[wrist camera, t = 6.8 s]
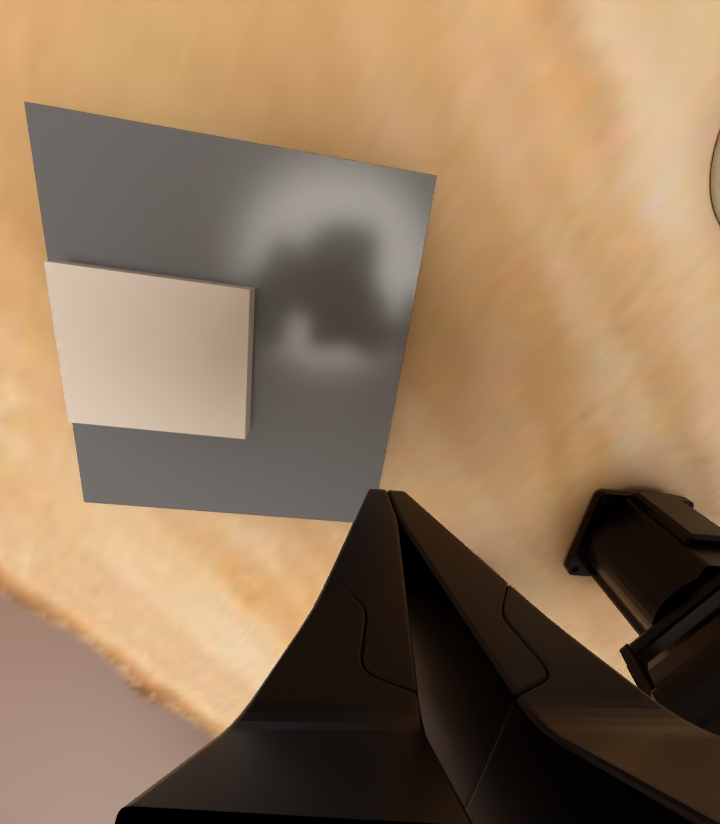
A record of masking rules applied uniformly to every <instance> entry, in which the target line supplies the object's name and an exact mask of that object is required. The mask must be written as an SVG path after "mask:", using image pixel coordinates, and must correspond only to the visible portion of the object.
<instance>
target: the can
mask: <svg viewBox="0 0 720 824" xmlns="http://www.w3.org/2000/svg"><path fill="white" fill-rule="evenodd" d="M711 195H712V201H713V206H714V210H715V213H716V216H717V218H718V221H719V222H720V134H719V138H718V141H717V145H716V148H715V152H714V157H713V162H712V170H711Z"/></svg>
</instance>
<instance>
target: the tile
mask: <svg viewBox="0 0 720 824" xmlns="http://www.w3.org/2000/svg"><path fill="white" fill-rule="evenodd" d="M44 267H45V274H46V280H47V287H48V293H49V300H50V306H51V313H52V319H53V326H54V332H55V339H56V345H57V352H58V358H59V365H60V371H61V378H62V384H63V391H64V397H65V404H66V410H67V417H68V422H71V423H82V424H92V425H102V426H113V427H123V428H133V429H144V430H154V431H164V432H175V433H185V434H195V435H206V436H216V437H226V438H237V439H245V438H246V436H247V434H248V432H249V430H250V415H251V388H252V361H253V334H254V307H255V287H248V286H240V285H233V284H226V283H219V282H212V281H205V280H197V279H190V278H183V277H176V276H169V275H161V274H154V273H147V272H140V271H133V270H126V269H118V268H111V267H104V266H97V265H90V264H82V263H75V262H68V261H44Z"/></svg>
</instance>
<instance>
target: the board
mask: <svg viewBox="0 0 720 824" xmlns="http://www.w3.org/2000/svg"><path fill="white" fill-rule="evenodd" d="M24 103H25V110H26V116H27V123H28V130H29V136H30V143H31V150H32V156H33V163H34V170H35V177H36V183H37V190H38V197H39V203H40V210H41V217H42V223H43V230H44V237H45V243H46V250H47V257H48V261H68V262H75V263H82V264H90V265H97V266H104V267H111V268H118V269H126V270H133V271H140V272H147V273H154V274H161V275H169V276H176V277H183V278H190V279H197V280H205V281H212V282H219V283H226V284H233V285H240V286H248V287H255V307H254V334H253V361H252V388H251V415H250V430H249V432H248V434H247V436H246V438H245V439H237V438H226V437H216V436H206V435H195V434H185V433H175V432H164V431H154V430H144V429H133V428H123V427H113V426H102V425H92V424H82V423H72V424H73V430H74V437H75V444H76V450H77V457H78V464H79V470H80V477H81V484H82V490H83V497H84V502H90V503H103V504H117V505H130V506H143V507H156V508H169V509H183V510H196V511H209V512H222V513H235V514H248V515H262V516H275V517H288V518H301V519H314V520H328V521H341V522H354V520H355V518H356V516H357V514H358V512H359V509H360V507H361V505H362V503H363V501H364V499H365V496H366V494H367V492H368V490H369V489H379V485H380V479H381V474H382V468H383V463H384V458H385V452H386V447H387V441H388V436H389V431H390V425H391V420H392V414H393V409H394V404H395V398H396V393H397V388H398V382H399V377H400V371H401V366H402V361H403V355H404V350H405V344H406V339H407V334H408V328H409V323H410V317H411V312H412V307H413V301H414V296H415V290H416V285H417V280H418V274H419V269H420V264H421V258H422V253H423V247H424V242H425V237H426V231H427V226H428V220H429V215H430V210H431V204H432V199H433V193H434V188H435V183H436V177H437V176H436V175H431V174H425V173H419V172H414V171H408V170H403V169H397V168H392V167H386V166H380V165H375V164H369V163H364V162H358V161H353V160H347V159H341V158H336V157H330V156H325V155H319V154H314V153H308V152H302V151H297V150H291V149H286V148H280V147H275V146H269V145H263V144H258V143H252V142H247V141H241V140H236V139H230V138H224V137H219V136H213V135H208V134H202V133H197V132H191V131H186V130H180V129H174V128H169V127H163V126H158V125H152V124H147V123H141V122H135V121H130V120H124V119H119V118H113V117H108V116H102V115H96V114H91V113H85V112H80V111H74V110H69V109H63V108H57V107H52V106H46V105H41V104H35V103H30V102H24Z"/></svg>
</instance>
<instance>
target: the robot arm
mask: <svg viewBox="0 0 720 824" xmlns="http://www.w3.org/2000/svg"><path fill="white" fill-rule="evenodd" d="M604 498H605V499H604ZM693 507H694V504H693V502H691V501H690V500H688V499H687V498H684V497H676V496H674V495H672V494H661V493H651V492H640V491H638V492H634V493H631V492H620V491H609V490H601V491H599V492H598V493H596V495H595V496H594V498H593V501H592V503H591V505H590V508H589V510H588V512H587V514H586V517H585V519H584V521H583V524H582V526H581V528H580V531H579V533H578V535H577V538H576V540H575V542H574V545H573V547H572V549H571V551H570V554H569V556H568V558H567V561H566V563H565V566H564V567H565V569H566V570H567V572H568V573H569V574H571V575H580V576H592V577H593V579H594V580H595V581H596V582H597V584H598V585H599V586H600V587H601V589H602V590H603V591H604V592H605V594H606V595H607V596H608V597H609V599H610V600H611V601H612V602H613V604H614V605H615V606H616V607H617V608H618V610H619V611H620V612H621V613H622V615H623V616H624V617H625V618H626V620H627V621H628V622H629V623H630V625H631V626H632V627H633V628H634V630H635V631H636V632H637V633H638V635H639V637H638V638H636V639H635V640H634V641H633V642H632V643H630V644H629V645H628V644H626V645H625V646H623V647H622V648H621V649H620V650H619V651H620V653H621V655H622V657H623V659H624V660H625V662H626V664H627V668H628V670H629V672H630V674H631V676H632V678H633V679H634V681H635V683H636V685H637V687H636V686H635V685H634V684H632V683H631V682H630V681H629V680H627V679H626V678H625V677H623V676H622V675H621V674H619V673H618V672H617V671H616V670H614V669H613V668H612V667H610V666H609V665H608V664H606V663H605V662H604V661H603V660H601V659H600V658H599V657H597V656H596V655H595V654H593V653H592V652H591V651H590V650H588V649H587V648H586V647H584V646H583V645H582V644H580V643H579V642H578V641H577V640H575V639H574V638H573V637H572V636H570V635H569V634H568V633H566V632H565V631H564V630H563V629H561V628H560V627H559V626H558V625H556V624H555V623H554V622H553V621H551V620H550V619H549V618H548V617H546V616H545V615H544V614H543V613H542V612H541V611H539V610H538V609H537V608H536V607H535V606H534V605H532V604H531V603H530V602H529V601H528V600H527V599H525V598H524V597H523V596H522V595H521V594H520V593H519V592H517V591H516V590H515V589H514V588H513V587H512V586H510V585H508V584H507V582H506V581H505V580H504V579H503V578H501V577H500V576H499V575H498V574H497V573H496V572H495V571H494V570H492V569H491V568H490V567H489V566H488V565H487V564H486V563H485V562H483V561H482V560H481V559H480V558H479V557H478V556H477V555H475V554H474V553H473V552H472V551H471V550H470V549H469V548H468V547H466V546H465V545H464V544H463V543H462V542H461V541H460V540H459V539H457V538H456V537H455V536H454V535H453V534H452V533H451V532H450V531H448V530H447V529H446V528H445V527H444V526H443V525H442V524H441V523H439V522H438V521H437V520H436V519H435V518H434V517H433V516H431V515H430V514H429V513H428V512H427V511H426V510H425V509H424V508H422V507H421V506H420V505H419V504H418V503H417V502H416V501H415V500H413V499H412V498H411V497H410V496H409V495H408V494H407V493H405V492H403V491H393V490H389V491H386V490H381V489H369V490H368V492H367V494H366V496H365V499H364V501H363V503H362V505H361V507H360V509H359V512H358V514H357V516H356V518H355V520H354V522H353V525H352V527H351V529H350V531H349V533H348V536H347V538H346V540H345V542H344V544H343V546H342V549H341V551H340V553H339V555H338V557H337V559H336V562H335V564H334V566H333V568H332V570H331V572H330V575H329V576H328V578H327V581H326V583H325V585H324V587H323V589H322V591H321V593H320V595H319V597H318V599H317V601H316V603H315V605H314V607H313V609H312V610H311V612H310V613H309V615H308V617H307V618H306V620H305V621H304V623H303V625H302V626H301V628H300V630H299V631H298V633H297V634H296V636H295V637H294V638H293V640H292V641H291V643H290V644H289V646H288V647H287V649H286V650H285V652H284V653H283V655H282V656H281V658H280V659H279V661H278V662H277V664H276V665H275V666H274V668H273V669H272V671H271V672H270V674H269V675H268V677H267V678H266V680H265V681H264V683H263V684H262V686H261V687H260V689H259V690H258V691H257V693H256V694H255V696H254V697H253V698H252V700H251V701H250V703H249V704H248V705H247V706H246V708H245V709H244V710H243V712H242V713H241V714H240V715H239V716H238V718H237V719H236V720H235V721H234V722H233V723H232V724H231V725H230V726H229V727H228V728H227V729H226V730H225V731H224V732H223V733H221V734H220V735H219V736H218V737H216V738H215V739H214V740H212V741H211V742H210V743H208V744H207V745H206V746H204V747H203V748H202V749H200V750H199V751H198V752H196V753H195V754H194V755H192V756H191V757H190V758H188V759H187V760H186V761H184V762H183V763H182V764H180V765H179V766H178V767H176V768H175V769H174V770H172V771H171V772H170V773H169V774H167V775H166V776H164V777H163V778H162V779H160V780H159V781H158V782H157V783H155V784H154V785H152V786H151V787H150V788H148V789H147V790H146V791H144V792H143V793H142V794H140V795H139V796H138V797H137V798H135V799H134V800H133V801H131V802H130V803H129V804H127V805H126V806H125V807H123V808H122V809H121V810H120V811H119V812H118V815H117V818H116V821H115V824H720V527H719V526H717V525H716V524H714V523H713V522H711V521H710V520H709V519H707V518H706V517H704V516H703V515H702V514H700V513H699V512H697V511H696V510H694V509H693ZM507 585H508V586H507Z"/></svg>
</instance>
